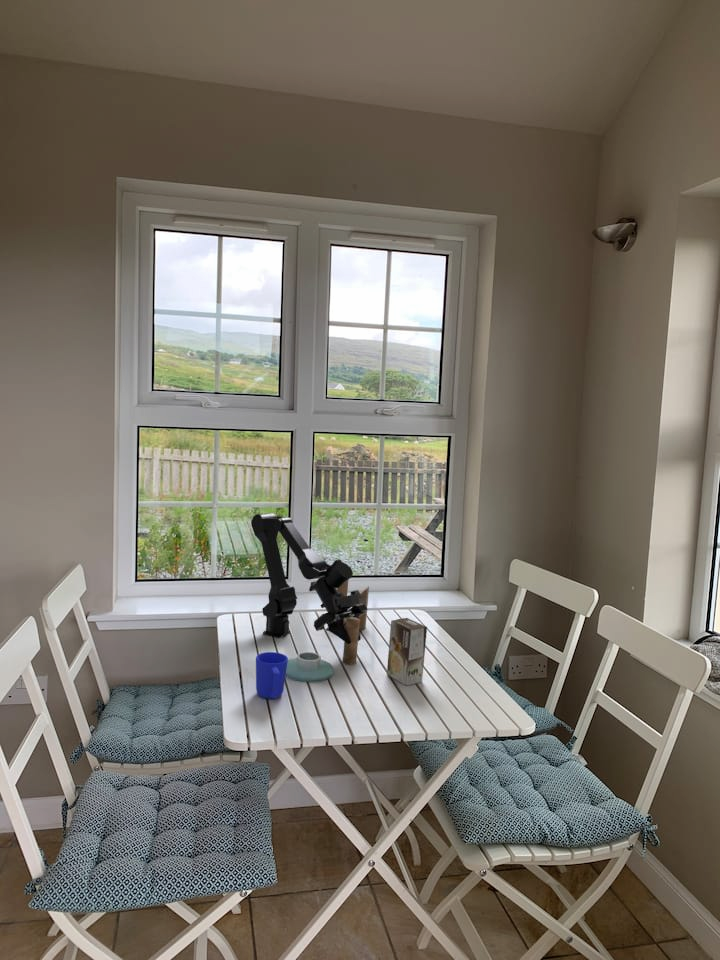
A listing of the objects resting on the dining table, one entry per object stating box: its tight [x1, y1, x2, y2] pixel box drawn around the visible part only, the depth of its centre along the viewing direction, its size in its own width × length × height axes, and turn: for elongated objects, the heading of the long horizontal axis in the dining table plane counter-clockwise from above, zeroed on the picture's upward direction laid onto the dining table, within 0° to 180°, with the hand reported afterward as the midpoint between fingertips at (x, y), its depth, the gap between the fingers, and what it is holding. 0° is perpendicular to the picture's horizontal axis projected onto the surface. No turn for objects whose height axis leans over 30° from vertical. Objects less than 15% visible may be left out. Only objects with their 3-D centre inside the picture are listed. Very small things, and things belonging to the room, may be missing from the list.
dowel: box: [342, 617, 360, 666], centre depth 219 cm, size 4×4×13 cm
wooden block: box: [336, 580, 370, 630], centre depth 251 cm, size 4×11×18 cm, turn 79°
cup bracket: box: [285, 651, 334, 683], centre depth 210 cm, size 14×14×4 cm
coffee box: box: [386, 617, 428, 686], centre depth 210 cm, size 9×6×16 cm
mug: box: [255, 651, 289, 700], centre depth 190 cm, size 8×12×10 cm
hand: (354, 641), depth 218 cm, fingers closed on dowel, 4 cm apart
